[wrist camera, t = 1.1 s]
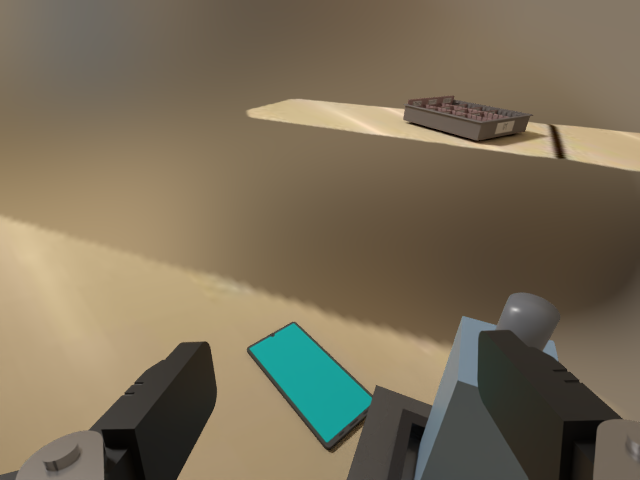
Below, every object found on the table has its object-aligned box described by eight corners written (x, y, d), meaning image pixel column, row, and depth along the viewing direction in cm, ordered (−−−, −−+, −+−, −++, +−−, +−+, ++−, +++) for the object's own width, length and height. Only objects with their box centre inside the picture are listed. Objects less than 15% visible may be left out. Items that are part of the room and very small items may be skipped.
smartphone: (327, 449, 31) (245, 348, 40) (327, 453, 31) (246, 352, 41) (380, 401, 35) (294, 320, 45) (379, 406, 35) (295, 325, 45)
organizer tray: (476, 145, 123) (484, 116, 117) (400, 122, 151) (403, 99, 146) (526, 135, 137) (535, 109, 132) (448, 116, 166) (453, 94, 161)
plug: (406, 515, 20) (477, 327, 12) (417, 451, 24) (478, 267, 15) (477, 549, 19) (610, 364, 11) (478, 477, 22) (582, 291, 14)
